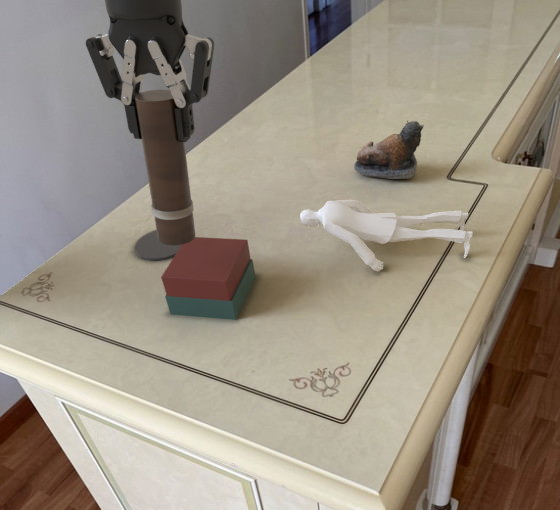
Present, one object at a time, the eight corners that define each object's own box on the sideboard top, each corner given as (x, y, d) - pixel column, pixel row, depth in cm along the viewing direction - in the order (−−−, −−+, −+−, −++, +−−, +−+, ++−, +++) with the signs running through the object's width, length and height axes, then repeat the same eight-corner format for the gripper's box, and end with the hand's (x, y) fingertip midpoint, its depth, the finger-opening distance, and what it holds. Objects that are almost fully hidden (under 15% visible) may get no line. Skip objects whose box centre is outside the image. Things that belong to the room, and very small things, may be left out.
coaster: (124, 253, 97) (123, 250, 97) (160, 226, 102) (160, 223, 102) (164, 267, 93) (163, 264, 93) (200, 238, 98) (199, 235, 98)
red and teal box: (194, 273, 91) (184, 236, 86) (255, 277, 88) (249, 239, 84) (170, 314, 84) (158, 276, 80) (236, 320, 82) (228, 281, 77)
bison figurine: (349, 180, 107) (348, 124, 100) (363, 162, 111) (363, 108, 104) (413, 189, 102) (416, 132, 95) (425, 170, 106) (430, 114, 99)
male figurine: (454, 232, 95) (301, 216, 96) (465, 197, 91) (304, 181, 91) (464, 283, 86) (294, 265, 86) (477, 247, 81) (297, 229, 82)
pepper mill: (180, 140, 79) (131, 70, 64) (216, 142, 78) (175, 72, 63) (161, 251, 78) (106, 207, 63) (197, 255, 77) (150, 211, 62)
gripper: (50, -38, 55) (91, 145, 66) (193, -38, 53) (211, 153, 64) (88, -45, 61) (120, 125, 72) (219, -46, 58) (232, 132, 69)
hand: (162, 137), depth 68 cm, fingers closed on pepper mill, 5 cm apart
